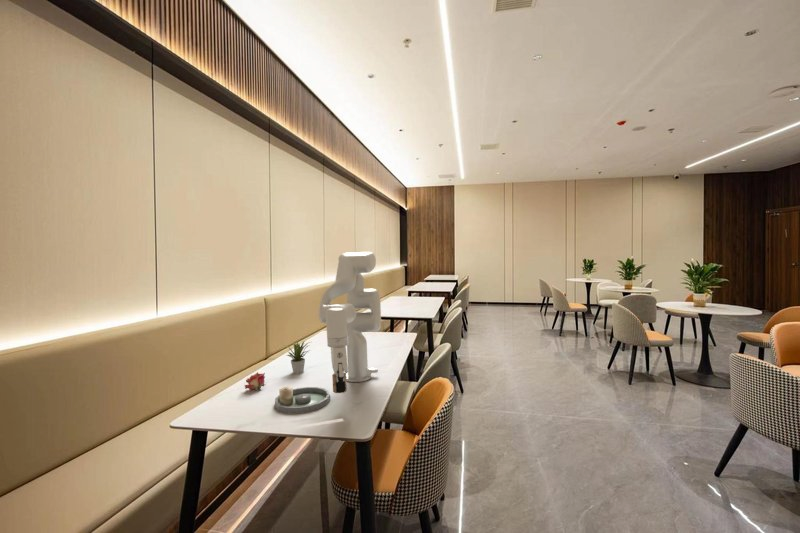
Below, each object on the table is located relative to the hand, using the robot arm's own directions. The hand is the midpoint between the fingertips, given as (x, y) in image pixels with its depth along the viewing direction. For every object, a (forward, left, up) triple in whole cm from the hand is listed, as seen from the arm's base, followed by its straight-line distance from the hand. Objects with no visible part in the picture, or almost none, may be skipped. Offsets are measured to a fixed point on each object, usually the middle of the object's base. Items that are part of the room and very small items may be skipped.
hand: (339, 388), depth 133 cm
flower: (+33, -37, -9) cm, 51 cm away
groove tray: (+13, -13, -9) cm, 21 cm away
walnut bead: (0, 0, -1) cm, 1 cm away
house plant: (+13, -56, -9) cm, 59 cm away
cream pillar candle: (+20, -13, -8) cm, 25 cm away
